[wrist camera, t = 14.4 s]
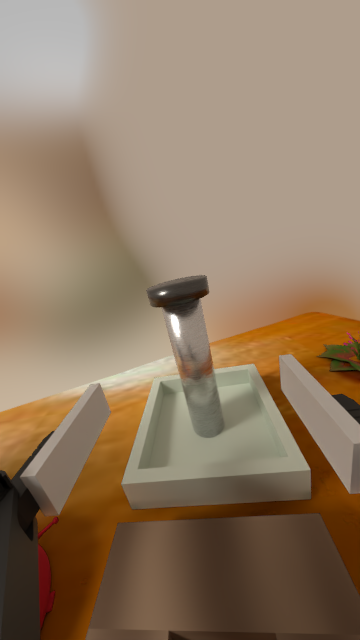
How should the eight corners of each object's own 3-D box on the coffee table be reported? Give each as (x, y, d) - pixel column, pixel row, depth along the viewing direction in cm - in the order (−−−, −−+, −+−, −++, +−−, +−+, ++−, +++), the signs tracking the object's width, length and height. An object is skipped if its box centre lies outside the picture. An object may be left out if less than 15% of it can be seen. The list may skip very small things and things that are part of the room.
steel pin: (184, 448, 23) (139, 295, 17) (185, 409, 28) (152, 284, 23) (237, 442, 22) (208, 280, 16) (228, 403, 28) (204, 273, 22)
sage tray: (132, 509, 19) (121, 484, 18) (159, 395, 34) (154, 377, 33) (311, 499, 17) (310, 469, 16) (255, 382, 32) (253, 363, 31)
